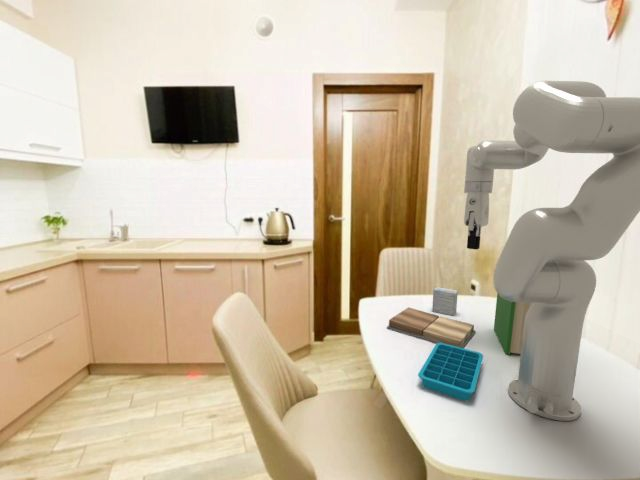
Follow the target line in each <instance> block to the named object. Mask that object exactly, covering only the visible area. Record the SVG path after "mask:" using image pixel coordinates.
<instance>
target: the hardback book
mask: <svg viewBox="0 0 640 480" xmlns="http://www.w3.org/2000/svg"><path fill="white" fill-rule="evenodd" d="M496 294H497V295H496V303H495V311H494V323H493V331H494V333H495V336H496V337H497V339H498V341H499V344H500V346H501V348H502V350H503V352H504V354H505V355H506V356H509V357H510V355H511V354H517V355H521V347H522V339H523V330H524V322H525V317H526V314H527V311H528V309H529V308H530V306H531V305H532V303H524V302H512V301H508V300H506V299H504V298H502V297H501V296H500V295H499V294H498V293H497V292H496Z"/></svg>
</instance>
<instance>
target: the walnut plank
mask: <svg viewBox="0 0 640 480" xmlns="http://www.w3.org/2000/svg"><path fill="white" fill-rule="evenodd" d="M439 317H440V316H439V315H437V314H434V313H430V312H426V311H424V310H423V311H422V310H420V309H416V308H412V307H410V306H409V307H406V308H405V309H404V310H402V311H401V312H399V313H398V314H396V315H394V316H393V317H391V318H390V319H388V326H392V327H395V328H398V329H401V330H404V331H407V332H410V333H413V334H416V335H419V336H423V331H424V330H425V329H426V328H427V327H428V326H429V325H431V324H432V323H433V322H434V321H435V320H436V319H437V318H439Z"/></svg>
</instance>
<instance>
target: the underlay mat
mask: <svg viewBox="0 0 640 480" xmlns="http://www.w3.org/2000/svg"><path fill="white" fill-rule="evenodd" d="M386 329H387V330H390V331H394V332H396V333H401V334H403V335H406V336H411V337H413V338H416V339H420V340H422V341H427V342H430V343H433V344H435V345H436V344H437V343H441V342H438V341H435V340H431V339H428V338H425V337H423V336H419V335H416V334H413V333H410V332H407V331H404V330H401V329H398V328H395V327H392V326H389V325H387V326H386ZM475 334H476V330H475V329H474V331H473V332H472V333H471V335H470V336H469V337H468V339H467V340H466V341H465V342H464V344H463V345H462V346H461V348H464V349H465V347H466V346H467V344H468V343H469V342H470V341H471V340H472V338H473V336H474V335H475ZM444 344H445V343H444Z"/></svg>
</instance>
